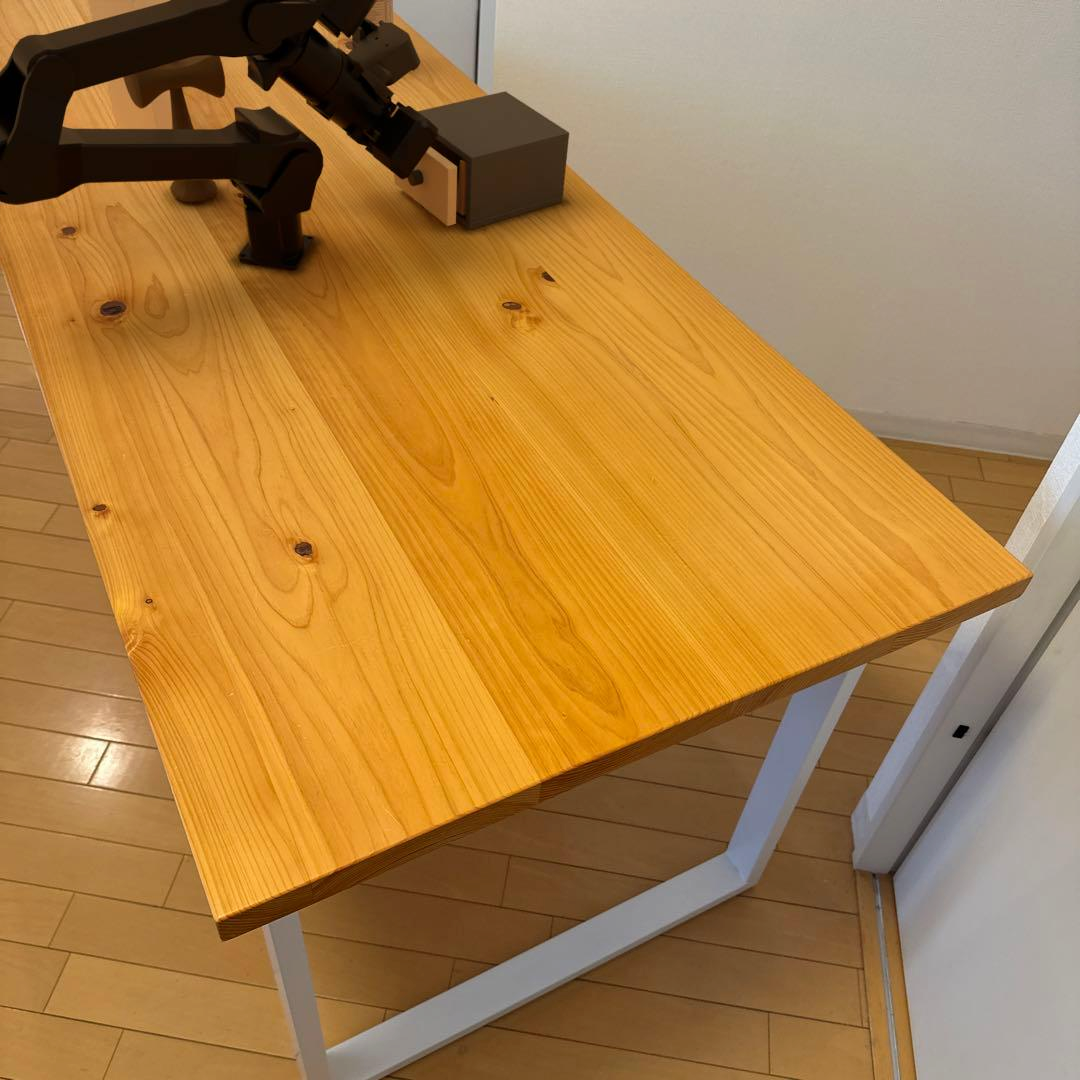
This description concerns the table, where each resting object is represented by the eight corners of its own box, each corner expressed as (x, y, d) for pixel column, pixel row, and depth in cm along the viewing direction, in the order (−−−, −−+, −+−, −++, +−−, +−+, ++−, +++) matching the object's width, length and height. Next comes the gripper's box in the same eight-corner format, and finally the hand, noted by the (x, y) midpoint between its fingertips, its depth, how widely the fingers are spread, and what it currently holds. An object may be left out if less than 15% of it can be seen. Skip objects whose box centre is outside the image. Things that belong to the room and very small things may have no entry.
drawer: (438, 229, 113) (438, 171, 108) (385, 185, 119) (383, 129, 114) (535, 200, 119) (540, 144, 115) (480, 160, 125) (482, 106, 120)
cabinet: (469, 230, 115) (471, 158, 109) (410, 183, 122) (409, 112, 116) (562, 202, 121) (569, 132, 115) (501, 159, 128) (505, 91, 122)
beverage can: (397, 60, 147) (395, -30, 138) (389, 75, 143) (387, -16, 134) (359, 55, 147) (355, -35, 138) (350, 70, 143) (345, -22, 134)
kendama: (245, 197, 116) (219, 13, 102) (162, 215, 112) (123, 25, 98) (225, 175, 119) (197, -7, 105) (144, 191, 115) (103, 4, 101)
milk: (163, 161, 121) (123, -42, 105) (120, 149, 122) (74, -53, 106) (192, 141, 125) (158, -57, 109) (150, 130, 126) (110, -68, 110)
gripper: (420, 36, 93) (510, 129, 106) (321, -28, 103) (415, 64, 116) (350, 138, 95) (447, 216, 108) (260, 66, 105) (359, 146, 118)
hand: (417, 156), depth 112 cm, fingers closed, pressing on drawer
